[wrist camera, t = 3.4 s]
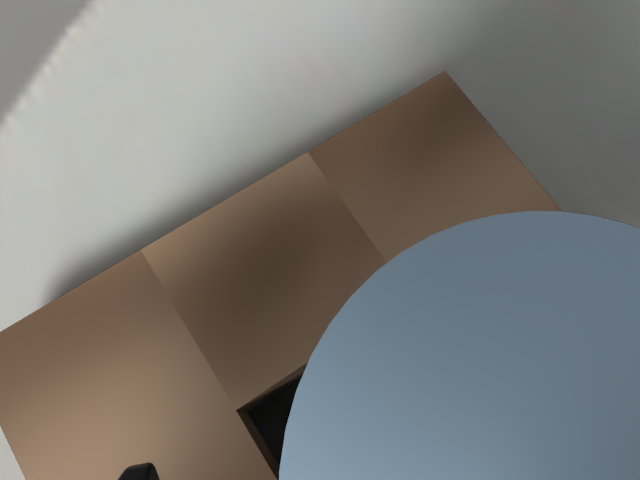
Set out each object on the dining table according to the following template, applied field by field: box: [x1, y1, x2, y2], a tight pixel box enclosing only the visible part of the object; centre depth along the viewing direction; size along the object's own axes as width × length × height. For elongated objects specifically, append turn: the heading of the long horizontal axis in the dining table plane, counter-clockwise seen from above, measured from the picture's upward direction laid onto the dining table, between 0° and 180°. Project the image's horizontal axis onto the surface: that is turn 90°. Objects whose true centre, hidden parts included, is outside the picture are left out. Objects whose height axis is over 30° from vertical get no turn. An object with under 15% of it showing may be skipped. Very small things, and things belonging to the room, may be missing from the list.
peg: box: [279, 211, 640, 480], centre depth 11 cm, size 4×4×14 cm
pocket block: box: [0, 71, 562, 480], centre depth 16 cm, size 16×16×3 cm
